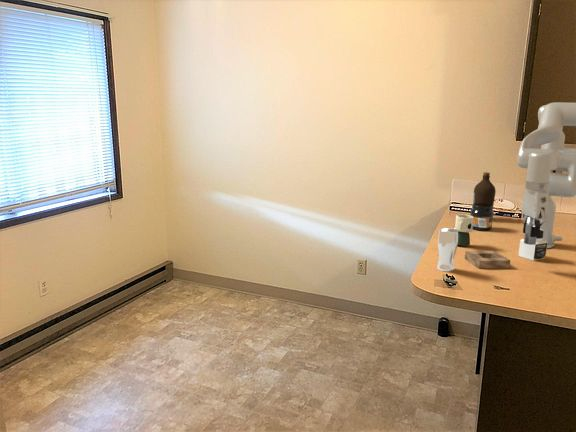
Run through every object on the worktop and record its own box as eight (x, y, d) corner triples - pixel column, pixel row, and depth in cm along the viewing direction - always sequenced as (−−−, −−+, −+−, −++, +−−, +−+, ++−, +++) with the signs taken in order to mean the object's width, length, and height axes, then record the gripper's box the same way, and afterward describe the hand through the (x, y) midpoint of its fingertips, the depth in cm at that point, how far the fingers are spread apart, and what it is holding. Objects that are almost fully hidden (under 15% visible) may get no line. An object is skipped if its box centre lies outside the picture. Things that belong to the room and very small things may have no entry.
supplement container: (482, 232, 237) (484, 207, 234) (464, 227, 246) (466, 203, 243) (496, 229, 242) (499, 205, 240) (478, 225, 251) (481, 201, 248)
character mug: (466, 249, 209) (469, 219, 206) (449, 246, 212) (452, 217, 209) (473, 243, 217) (476, 215, 214) (457, 241, 221) (460, 212, 218)
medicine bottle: (533, 261, 195) (537, 231, 192) (518, 256, 201) (521, 227, 198) (545, 258, 198) (549, 229, 195) (529, 254, 204) (533, 225, 201)
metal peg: (531, 241, 186) (535, 215, 184) (537, 244, 183) (541, 218, 180) (521, 241, 186) (524, 215, 184) (527, 244, 182) (530, 218, 180)
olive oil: (495, 219, 264) (500, 172, 259) (488, 222, 256) (494, 174, 250) (474, 216, 271) (479, 170, 265) (468, 219, 263) (472, 172, 257)
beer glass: (452, 273, 179) (456, 233, 176) (433, 269, 183) (436, 230, 179) (457, 268, 185) (461, 229, 182) (438, 264, 189) (441, 226, 185)
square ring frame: (493, 258, 198) (494, 250, 197) (509, 267, 186) (510, 260, 186) (464, 258, 197) (465, 251, 196) (478, 268, 185) (479, 260, 184)
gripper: (561, 190, 171) (554, 241, 176) (533, 181, 187) (527, 228, 192) (540, 191, 171) (534, 242, 175) (514, 182, 187) (509, 228, 191)
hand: (530, 234), depth 184 cm, fingers closed on metal peg, 4 cm apart
